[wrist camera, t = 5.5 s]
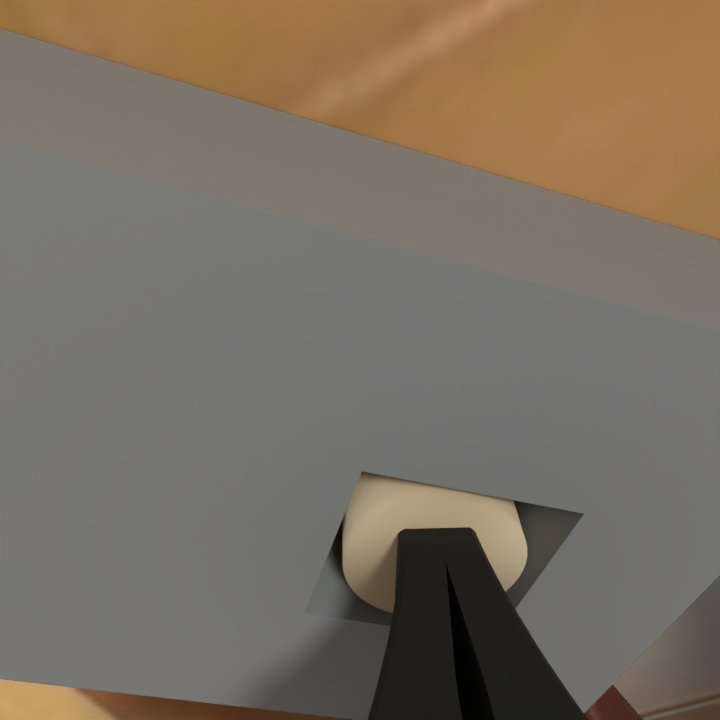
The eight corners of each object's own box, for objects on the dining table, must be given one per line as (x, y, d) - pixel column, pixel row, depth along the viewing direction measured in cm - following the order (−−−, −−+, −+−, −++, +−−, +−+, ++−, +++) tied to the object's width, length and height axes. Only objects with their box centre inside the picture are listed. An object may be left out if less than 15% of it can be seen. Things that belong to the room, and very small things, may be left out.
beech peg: (502, 367, 15) (559, 518, 11) (450, 468, 17) (483, 627, 13) (364, 335, 14) (373, 483, 10) (326, 443, 16) (322, 603, 12)
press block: (736, 245, 13) (910, 381, 9) (510, 576, 20) (555, 742, 16) (-473, -111, 10) (-1091, -145, 5) (-265, 447, 16) (-474, 624, 12)
